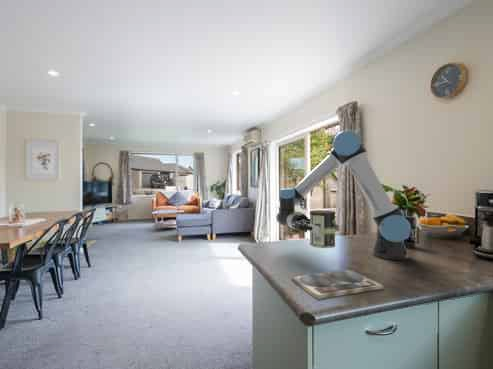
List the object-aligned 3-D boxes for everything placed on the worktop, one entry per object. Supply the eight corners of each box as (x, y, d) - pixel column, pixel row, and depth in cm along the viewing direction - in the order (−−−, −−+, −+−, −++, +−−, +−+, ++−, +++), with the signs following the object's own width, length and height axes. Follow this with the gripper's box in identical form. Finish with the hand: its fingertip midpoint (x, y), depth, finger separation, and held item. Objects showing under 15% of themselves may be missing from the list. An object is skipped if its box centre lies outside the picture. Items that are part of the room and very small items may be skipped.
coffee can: (333, 243, 113) (333, 210, 113) (336, 248, 103) (336, 213, 103) (309, 242, 115) (309, 210, 115) (310, 247, 105) (310, 212, 105)
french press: (392, 245, 150) (392, 205, 150) (400, 243, 155) (400, 204, 155) (414, 249, 140) (414, 207, 140) (422, 247, 145) (422, 206, 145)
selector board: (350, 272, 104) (350, 269, 104) (382, 288, 88) (382, 284, 88) (291, 280, 95) (291, 276, 95) (316, 299, 80) (317, 294, 80)
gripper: (317, 227, 130) (350, 235, 109) (277, 230, 121) (305, 240, 101) (317, 212, 130) (350, 218, 109) (277, 214, 121) (305, 221, 101)
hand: (329, 228), depth 105 cm, fingers closed on coffee can, 10 cm apart
